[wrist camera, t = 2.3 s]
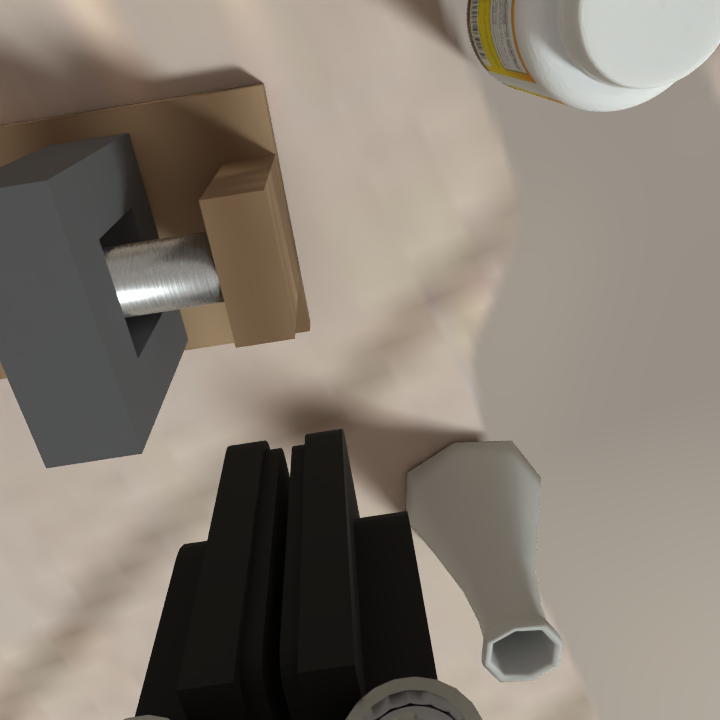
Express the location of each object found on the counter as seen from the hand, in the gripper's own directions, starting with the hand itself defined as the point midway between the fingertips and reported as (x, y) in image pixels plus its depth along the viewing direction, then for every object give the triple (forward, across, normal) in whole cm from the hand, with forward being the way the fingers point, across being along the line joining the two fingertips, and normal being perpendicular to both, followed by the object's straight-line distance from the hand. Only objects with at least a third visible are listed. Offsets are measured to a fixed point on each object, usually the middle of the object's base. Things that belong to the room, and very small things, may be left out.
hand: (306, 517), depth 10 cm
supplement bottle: (+20, -9, -6) cm, 23 cm away
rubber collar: (+18, +8, 0) cm, 20 cm away
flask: (+20, -5, +16) cm, 27 cm away
